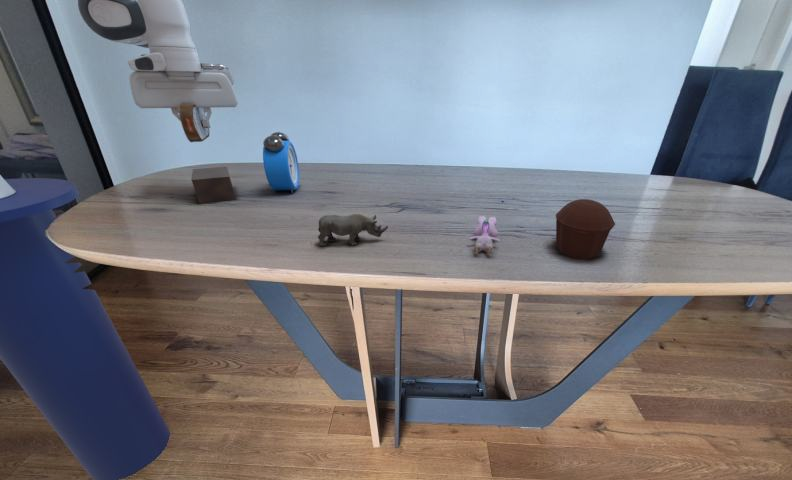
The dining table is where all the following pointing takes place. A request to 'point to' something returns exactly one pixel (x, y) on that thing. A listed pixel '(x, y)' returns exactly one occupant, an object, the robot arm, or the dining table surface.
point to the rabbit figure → (485, 234)
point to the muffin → (582, 228)
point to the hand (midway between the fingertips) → (197, 128)
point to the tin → (193, 122)
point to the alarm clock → (280, 162)
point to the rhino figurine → (347, 227)
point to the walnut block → (212, 184)
